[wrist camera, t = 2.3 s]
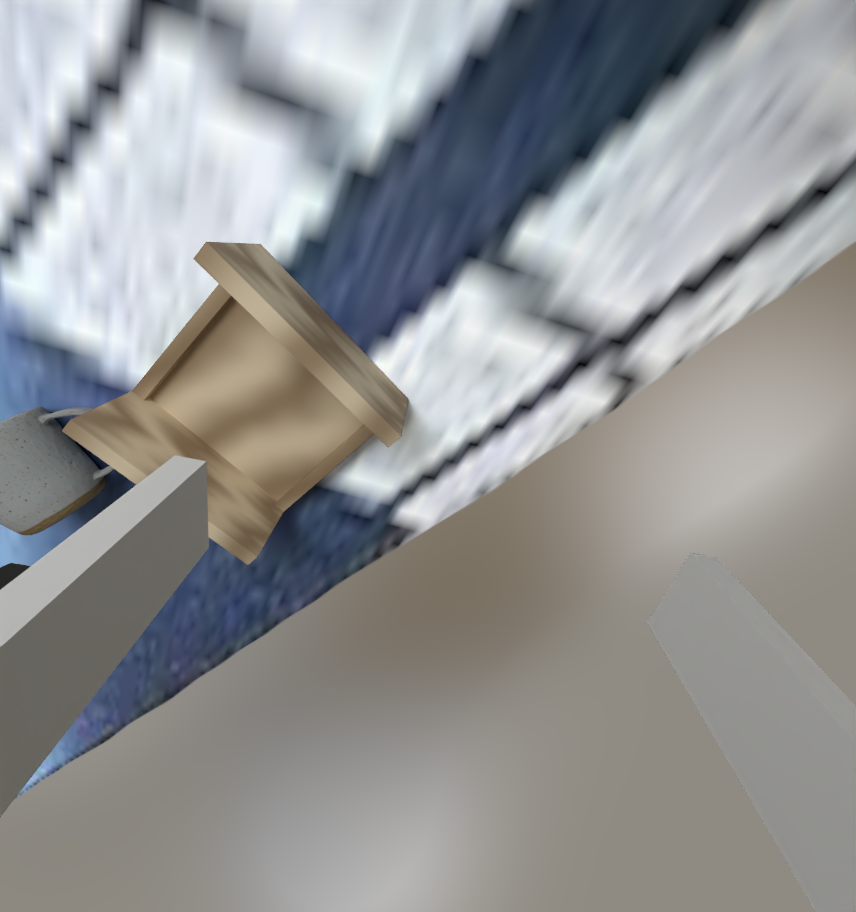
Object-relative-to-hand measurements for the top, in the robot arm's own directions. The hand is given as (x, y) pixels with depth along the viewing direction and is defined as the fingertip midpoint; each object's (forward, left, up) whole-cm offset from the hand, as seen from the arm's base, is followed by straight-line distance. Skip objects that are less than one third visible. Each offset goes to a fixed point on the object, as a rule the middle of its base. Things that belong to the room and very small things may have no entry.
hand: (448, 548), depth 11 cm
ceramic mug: (-15, -29, -23) cm, 40 cm away
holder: (-7, -12, -23) cm, 27 cm away
